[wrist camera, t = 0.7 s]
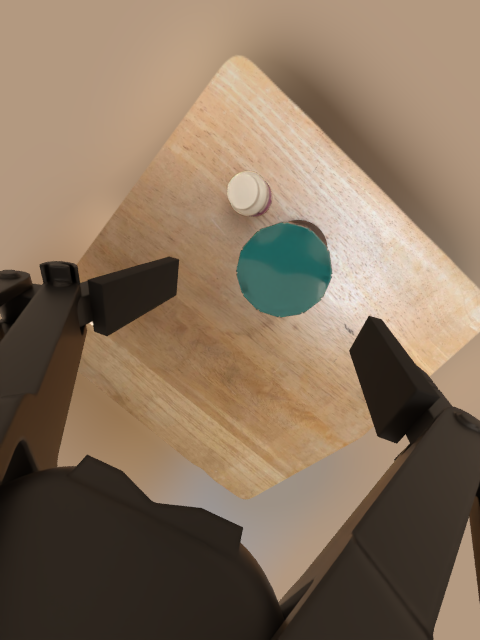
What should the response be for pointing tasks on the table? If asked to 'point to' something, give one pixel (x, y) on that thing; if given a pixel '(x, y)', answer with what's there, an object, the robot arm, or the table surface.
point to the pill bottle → (249, 194)
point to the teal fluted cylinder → (284, 269)
